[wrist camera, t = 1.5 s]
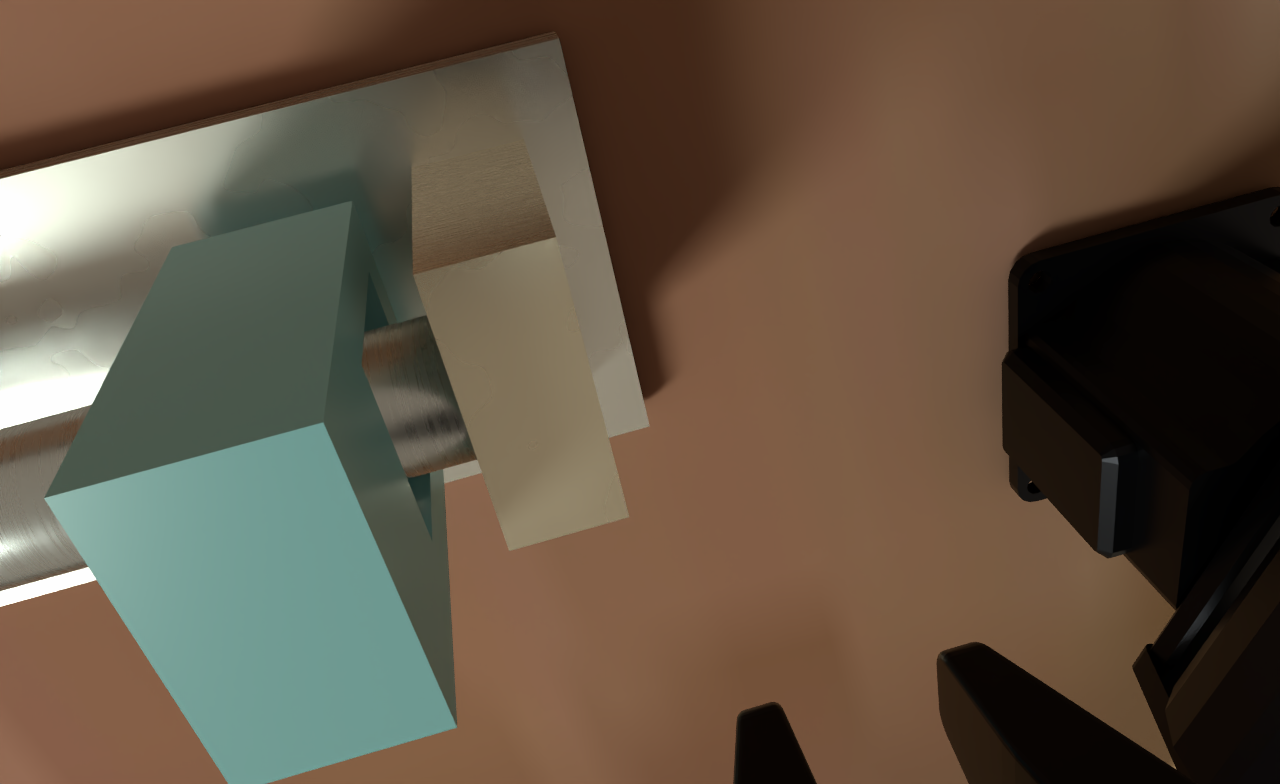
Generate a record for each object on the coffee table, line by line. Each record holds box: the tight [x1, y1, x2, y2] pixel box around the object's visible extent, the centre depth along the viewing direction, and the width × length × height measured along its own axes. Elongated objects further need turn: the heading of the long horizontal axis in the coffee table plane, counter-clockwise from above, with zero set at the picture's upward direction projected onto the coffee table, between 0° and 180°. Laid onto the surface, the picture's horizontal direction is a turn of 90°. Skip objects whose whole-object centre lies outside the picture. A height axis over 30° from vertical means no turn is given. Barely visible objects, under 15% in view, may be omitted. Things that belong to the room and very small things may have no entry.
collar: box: [44, 201, 457, 784], centre depth 15 cm, size 3×5×7 cm, turn 11°
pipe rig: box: [0, 31, 649, 606], centre depth 17 cm, size 21×8×5 cm, turn 101°
